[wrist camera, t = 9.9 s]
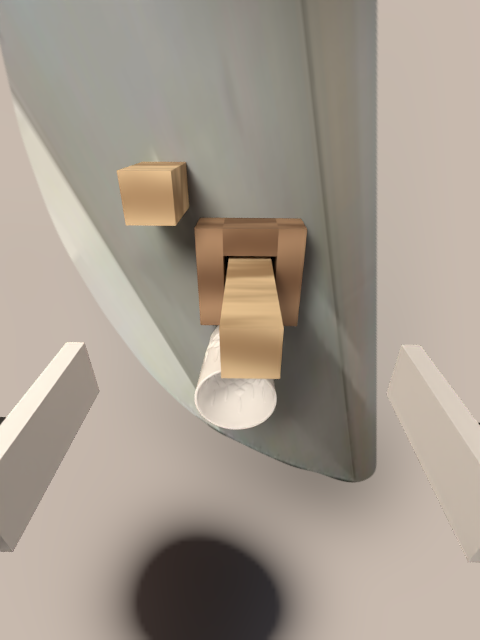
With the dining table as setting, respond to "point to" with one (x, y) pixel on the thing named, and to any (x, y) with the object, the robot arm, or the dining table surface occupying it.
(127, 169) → the short oak peg
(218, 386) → the white cup
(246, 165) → the dining table surface
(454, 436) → the robot arm
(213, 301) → the walnut hole block
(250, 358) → the long oak peg
